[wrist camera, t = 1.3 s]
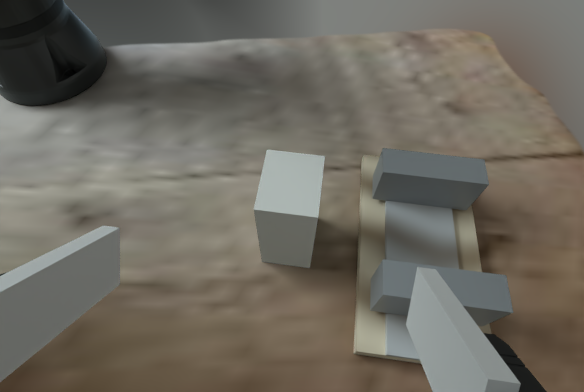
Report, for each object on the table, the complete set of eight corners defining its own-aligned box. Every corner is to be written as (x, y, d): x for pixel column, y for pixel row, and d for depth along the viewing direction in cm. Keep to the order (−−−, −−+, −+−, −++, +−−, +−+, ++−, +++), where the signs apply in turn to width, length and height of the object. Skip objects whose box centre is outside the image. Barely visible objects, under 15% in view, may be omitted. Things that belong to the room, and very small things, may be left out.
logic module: (271, 211, 40) (267, 149, 31) (315, 217, 40) (324, 156, 30) (261, 261, 37) (253, 209, 27) (309, 268, 36) (318, 217, 27)
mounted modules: (372, 176, 40) (383, 148, 36) (462, 187, 39) (484, 159, 35) (370, 310, 32) (383, 294, 28) (482, 326, 32) (513, 312, 27)
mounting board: (361, 162, 44) (364, 151, 42) (460, 173, 43) (468, 163, 41) (353, 353, 32) (357, 350, 30) (488, 373, 32) (500, 371, 30)
